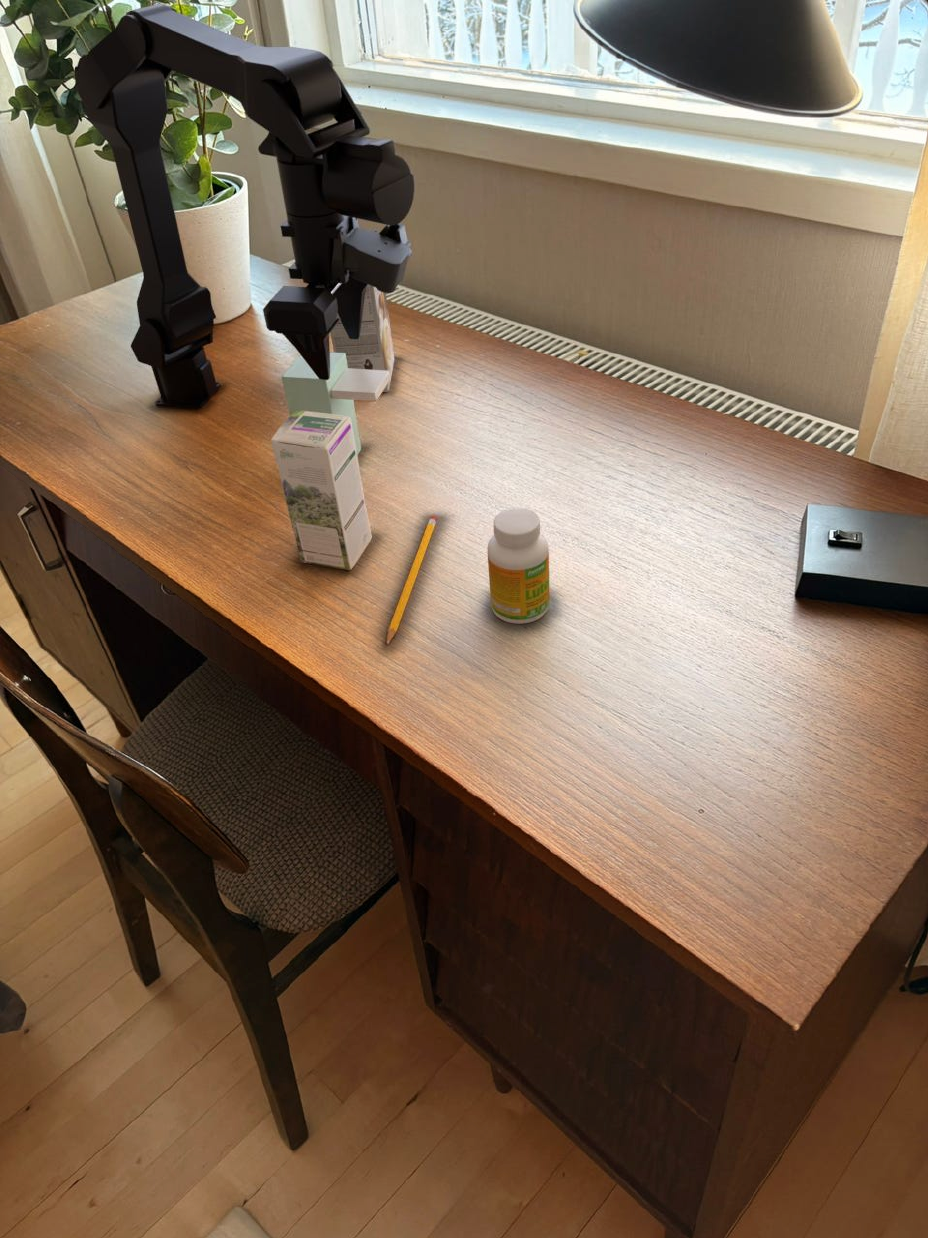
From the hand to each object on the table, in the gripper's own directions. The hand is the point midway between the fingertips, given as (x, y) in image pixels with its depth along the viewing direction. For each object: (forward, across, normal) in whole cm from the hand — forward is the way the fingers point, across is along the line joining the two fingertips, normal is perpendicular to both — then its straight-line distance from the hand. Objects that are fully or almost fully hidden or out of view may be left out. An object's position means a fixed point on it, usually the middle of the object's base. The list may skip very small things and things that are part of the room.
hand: (340, 358), depth 100 cm
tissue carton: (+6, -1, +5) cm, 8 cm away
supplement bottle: (+12, -22, -24) cm, 35 cm away
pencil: (+12, -20, -13) cm, 27 cm away
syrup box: (+12, -17, -4) cm, 22 cm away
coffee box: (+13, +19, +5) cm, 23 cm away
